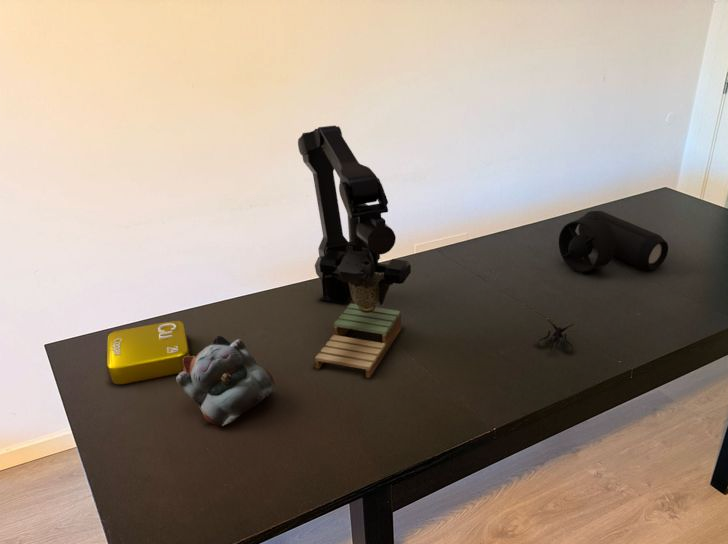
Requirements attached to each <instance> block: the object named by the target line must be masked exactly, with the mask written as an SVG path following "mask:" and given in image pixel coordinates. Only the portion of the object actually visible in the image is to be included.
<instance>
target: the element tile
mask: <svg viewBox="0 0 728 544" xmlns="http://www.w3.org/2000/svg"><path fill="white" fill-rule="evenodd" d="M189 348H190V347H189V342H188V337H187V333H186V329H185V325H184V323H183V322H182V321H181V320H171V321H166V322H160V323H155V324H153V323H152V324H148V325H141V326H136V327H131V328H126V329H119V330H114V331H111V333H109V334H108V336H107V349H106V351H107V355H106V357H107V358H106V359H107V360H106V365H107V369H108V372H109V375H110V378H111V381H112V383H113V384H116V385H126V384H133V383H136V382H138V383H139V382H141V381H143V382H144V381H147V380H151V379H153V380H154V379H157V378H163V377H167V376H173V375H177V374H178V375H179V373H180V371H181V370H182V365H183V358H184V357H186V356H191V354H190V349H189Z"/></svg>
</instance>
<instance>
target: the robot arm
mask: <svg viewBox="0 0 728 544" xmlns="http://www.w3.org/2000/svg"><path fill="white" fill-rule="evenodd" d="M297 147H298V151H299V154H300V155H301V156H302V162H303V164H305V165H306V167H307V169H309V170H310V172H311V173H312V177H313V182H314V183H313V184H314V191H315V195H316V201H317V207H318V215H319V220H320V226H321V232H322V238H321V241H320V244H319V245H318V257H317V259H316V261H315V264H314V270H315V274H316V275H317V277H318V278H319V279H320V280H321V287H322V296H320V301H322V302H328V303H333V304H334V303H335V304H341V305H345V304H346V303H347V302H348V301H349V300H350V301H353V300H352V297H351V293H350V289H349V283H348V282H351V283H355V284H362V283H363V282H364V280H365V279H367V278H373V275H374V273H379V274H382V278H381V279H380V280H379V281H378V284H379V285H380V293H379V302H378V303H379V305H380V306H382V305H383V304H384V303H385V300H386V297H387V294H388V291H389V289H390V286H392V285H393V284H397V285H401V284H404V283H405V281H406V280H407V279H408V277H409V276H410V274H411V272H412V267H411V266H412V265H411V264H410V262H409V261H408V260H403V259H396V258H391V260H390V261H389V262H388V263H380V262H379V260H380V259H381V255H385V254H387V253H389V252H390V251H391V250H392V249H393V248H394V246H395V244H396V234H395V231H394V230H393V229H392V228H391V227H390V226H389V225H388V224H387V223H386V219H385V218H383V217H382V214H384V213H385V214H386V213H388V212H389V208H388V204H389V200H388V197H387V195H386V192H385V189H384V186H383V184H382V182H381V180H380V178H379V177H378V176H377V175H376V174H375V172H374V171H373V170H372V169H371V168H370V167H369V166H367V165H363V164H361V163H360V162H359V161H358V159H357V158H356V156H355V154H354V152H353V151H352V149H351V148H350V146H349V144H348V143H347V141H346V140H345V139H344V137H343V133H342V129H341V127H340V126H337V125H334V124H333V125H326V126H319V127H317V128H314V130H312V131H307V132H302V134H301V135H300V137H298V139H297ZM334 171H335V172H334ZM334 173H336V174H337V176H338V178H339V185H338V190H339V191H338V192H339V196H340V198H341V202H342V204H343V206H344V209H345V212H346V214H347V227H348V228H347V229H348V239H347V238H346V237H345V236H344V232H343V226H342V219H341V213H340V207H339V199H338V195H337V194H338V193H337V187H336V180H335V174H334ZM377 202H378V203H377ZM370 203H372V204H370Z"/></svg>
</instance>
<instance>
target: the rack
mask: <svg viewBox="0 0 728 544" xmlns="http://www.w3.org/2000/svg"><path fill="white" fill-rule="evenodd" d="M346 307H347V308H345V309H344V311H342V313H341V314H340V315H339V316H338V319H336V320H335V321H334V323H333V335H331V337H330V338H329V340H328V341H327V342H325V345H324V346H323V347H322V348H321V350H320V352H318V354H316V356H315V358H314V359H315V361H314V367H315V369H318V370H319V369H320V368H321V367H322V366H323V364H324V363H327V364H333V365H339V366H343V367H344V366H345V367H349V368H356V369H362V370H365V378H368V379H370V378H371V377H372V375H373V374H374V372H375V371H376V369H377V367H378V366H379V365H380V363H381V361H382V360H383V358H384V357H385V355H386V354H387V352H388V350H389V348H390V347H391V346H392V344H393V343H394V341H395V340H396V339H397V336H398V335H399V334H400V332H401V330H402V313H401V310H397V309H395V310H394V309H391V308H390V309H389V308H382V307H378V306H377V307H376V306H375V309H374V311H373V312H370V313H363V312H361V311H360V310H359V308H358V305H356V304H355V303H349V304H348V306H346ZM350 330H354V331H360V332H367V333H373V334H379V335H381V337H382V342H379V341H373V340H366V339H361V338H356V337H355V338H354V337H348V336H346V335H347V333H348V332H349V331H350Z"/></svg>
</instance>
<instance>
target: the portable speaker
mask: <svg viewBox="0 0 728 544" xmlns="http://www.w3.org/2000/svg"><path fill="white" fill-rule="evenodd" d="M590 214H592V215H597V216H599V217H601V218H603V219H604V220H605V221H606V222H607V223H608V224H609V225H610V227H611V228H612V230H613V232H614V235H615V240H616V249H615V253H614V256H613V257H616V258H618V259H619V260H622V261H624V262H626V263H628V264H630V265H632V266H634V267H637V268H638V269H641V270H646V271H647V270H651V271H652V270H653V271H655V270H656V269H659V268H660V267H661V265H663V263H664V261H665V260H666V259H667V256H668V252H669V243H668V242H667V240H665V239H664V238H663V237H662V235H660V234H658V233H656V232H653V231H651V230H648V229H646V228H644V227H641V226H639V225H637V224H634V223H632V222H629V221H627V220H624V219H622V218H619V217H617V216H616V215H615V216H614V215H612V214H611V213H607V212H605V211H602V210H590V211H588V212H586V213H585V214H584V215H583V216H585V215H590ZM580 234H586V235H587V236H589V237H590V238H591V237H593V236H594V235H593V233H592V232H591V231H590V230H589V229H588V228H587V227H585V226H584V225H581V224H579V225H578V235H580ZM592 243H593V248H596V249H598V246H597V242H596V239H593V240H592Z"/></svg>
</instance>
